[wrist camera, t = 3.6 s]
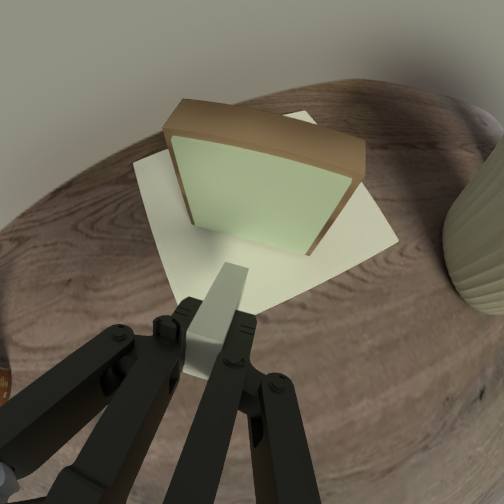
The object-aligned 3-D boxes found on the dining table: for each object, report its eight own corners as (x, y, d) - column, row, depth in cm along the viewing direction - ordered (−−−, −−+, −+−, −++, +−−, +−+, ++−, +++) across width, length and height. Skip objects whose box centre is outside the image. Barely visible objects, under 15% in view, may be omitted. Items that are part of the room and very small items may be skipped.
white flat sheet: (304, 114, 29) (305, 110, 28) (395, 243, 23) (398, 240, 23) (134, 166, 25) (132, 162, 24) (193, 340, 19) (192, 340, 19)
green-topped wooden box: (308, 259, 22) (365, 179, 11) (190, 227, 22) (160, 130, 12) (314, 229, 23) (365, 140, 12) (201, 199, 23) (182, 98, 13)
